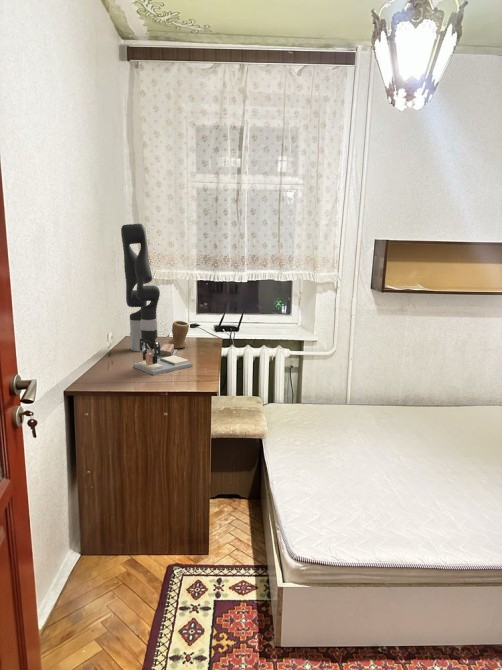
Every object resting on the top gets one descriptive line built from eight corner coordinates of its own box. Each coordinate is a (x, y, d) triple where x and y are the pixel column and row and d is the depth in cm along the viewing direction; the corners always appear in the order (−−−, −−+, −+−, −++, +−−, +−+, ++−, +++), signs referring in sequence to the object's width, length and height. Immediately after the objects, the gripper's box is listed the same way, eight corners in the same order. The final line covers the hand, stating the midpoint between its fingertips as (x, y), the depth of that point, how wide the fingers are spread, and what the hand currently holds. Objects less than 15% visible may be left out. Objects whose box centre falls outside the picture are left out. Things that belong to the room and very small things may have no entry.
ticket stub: (138, 364, 212) (138, 352, 211) (148, 362, 216) (148, 350, 215) (152, 369, 204) (151, 357, 203) (162, 367, 208) (162, 355, 207)
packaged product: (159, 342, 245) (177, 343, 246) (159, 351, 246) (177, 351, 247) (153, 350, 228) (172, 351, 228) (153, 359, 229) (172, 360, 229)
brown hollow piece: (189, 349, 250) (189, 323, 247) (168, 349, 248) (167, 323, 245) (188, 343, 264) (188, 318, 261) (168, 343, 263) (168, 318, 259)
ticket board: (133, 366, 214) (133, 361, 214) (171, 358, 229) (171, 354, 229) (153, 375, 202) (153, 369, 201) (192, 366, 217) (192, 361, 216)
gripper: (134, 327, 209) (135, 360, 212) (150, 331, 199) (151, 366, 202) (147, 325, 214) (148, 357, 217) (164, 329, 204) (165, 363, 207)
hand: (150, 361), depth 210 cm, fingers open, 8 cm apart
